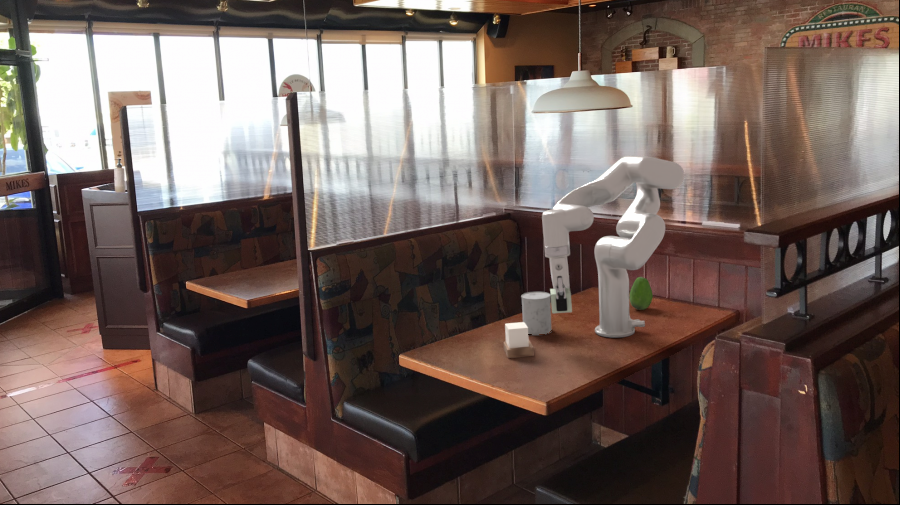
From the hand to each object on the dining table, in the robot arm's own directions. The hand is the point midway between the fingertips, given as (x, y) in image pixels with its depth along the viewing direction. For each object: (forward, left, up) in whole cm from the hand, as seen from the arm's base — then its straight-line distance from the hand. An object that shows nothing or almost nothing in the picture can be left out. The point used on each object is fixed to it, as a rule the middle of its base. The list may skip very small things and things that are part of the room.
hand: (561, 306), depth 223 cm
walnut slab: (+14, +4, -13) cm, 20 cm away
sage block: (0, 0, -1) cm, 1 cm away
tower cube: (+14, +3, -10) cm, 18 cm away
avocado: (-29, -38, -13) cm, 50 cm away
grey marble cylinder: (+8, -17, -13) cm, 23 cm away
